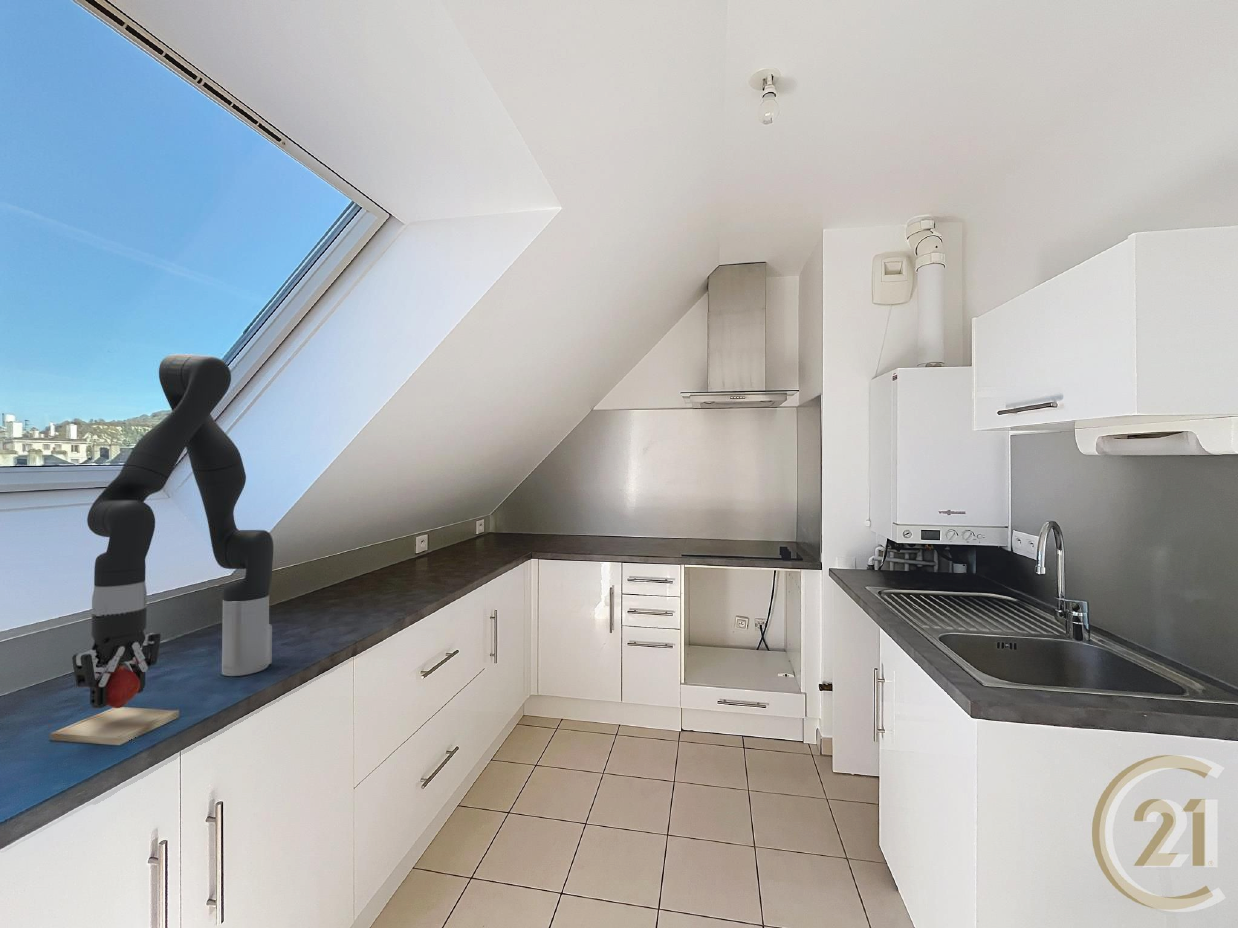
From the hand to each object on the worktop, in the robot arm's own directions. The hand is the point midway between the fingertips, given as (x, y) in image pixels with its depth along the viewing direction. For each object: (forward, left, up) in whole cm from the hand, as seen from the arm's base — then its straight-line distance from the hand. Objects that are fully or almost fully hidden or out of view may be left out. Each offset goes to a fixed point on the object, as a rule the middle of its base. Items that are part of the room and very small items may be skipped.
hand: (118, 699), depth 100 cm
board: (0, 0, -5) cm, 5 cm away
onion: (0, 0, -2) cm, 2 cm away
